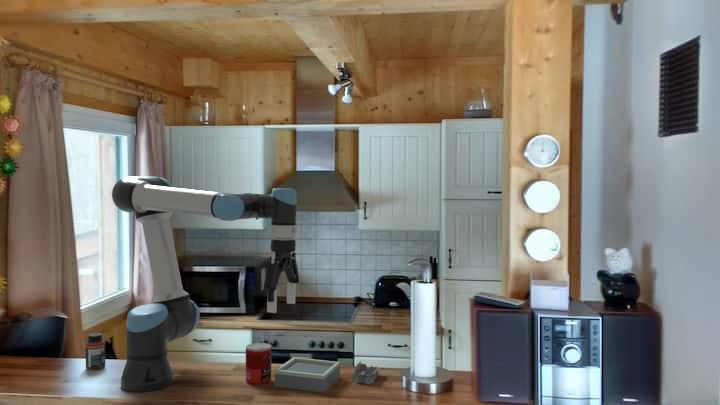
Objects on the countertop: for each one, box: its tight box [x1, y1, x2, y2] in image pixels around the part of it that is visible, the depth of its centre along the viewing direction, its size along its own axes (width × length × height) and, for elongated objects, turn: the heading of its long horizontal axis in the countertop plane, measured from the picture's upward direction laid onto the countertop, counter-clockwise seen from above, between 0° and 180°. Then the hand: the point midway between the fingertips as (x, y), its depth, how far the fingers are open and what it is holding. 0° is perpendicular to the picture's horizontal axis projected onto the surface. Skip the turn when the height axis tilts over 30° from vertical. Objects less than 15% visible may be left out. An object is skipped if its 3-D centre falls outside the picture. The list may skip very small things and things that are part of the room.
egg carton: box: [351, 361, 381, 385], centre depth 180 cm, size 11×8×4 cm
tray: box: [274, 356, 341, 394], centre depth 176 cm, size 16×14×5 cm
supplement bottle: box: [85, 332, 106, 371], centre depth 188 cm, size 6×6×11 cm
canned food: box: [245, 342, 272, 386], centre depth 177 cm, size 8×8×11 cm
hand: (281, 307), depth 174 cm, fingers open, 13 cm apart
